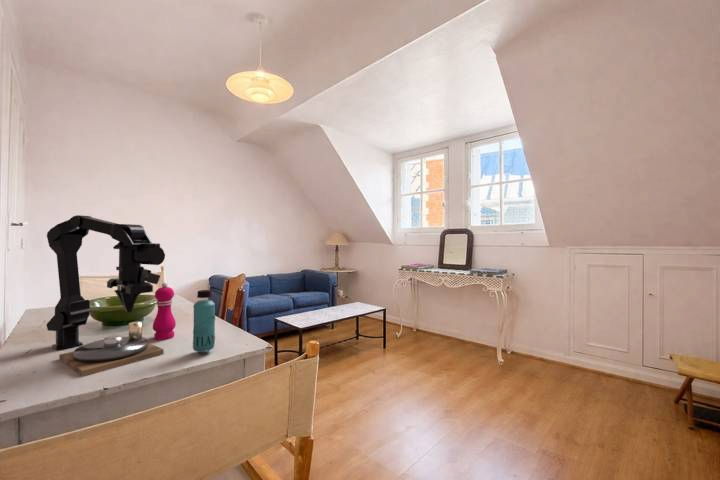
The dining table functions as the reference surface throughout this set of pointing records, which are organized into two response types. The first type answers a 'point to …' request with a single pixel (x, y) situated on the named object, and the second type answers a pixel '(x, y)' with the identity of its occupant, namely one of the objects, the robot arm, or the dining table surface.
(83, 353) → the handwheel
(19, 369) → the dining table surface
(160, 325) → the pepper mill
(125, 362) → the wheel mount
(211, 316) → the beverage bottle
